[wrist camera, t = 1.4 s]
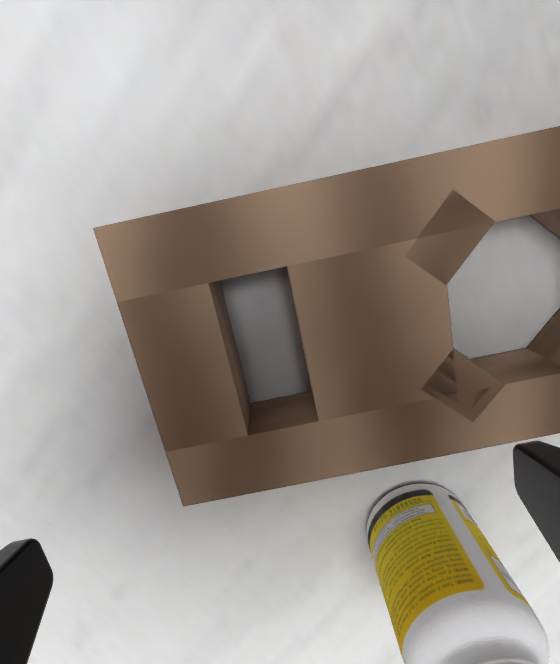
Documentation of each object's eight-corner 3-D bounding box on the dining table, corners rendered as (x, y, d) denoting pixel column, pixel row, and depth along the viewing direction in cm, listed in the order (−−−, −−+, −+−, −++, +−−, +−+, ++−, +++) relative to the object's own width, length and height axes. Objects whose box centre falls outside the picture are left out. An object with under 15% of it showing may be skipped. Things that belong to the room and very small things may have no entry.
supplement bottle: (349, 551, 23) (406, 789, 13) (386, 468, 21) (479, 668, 12) (440, 573, 23) (555, 817, 14) (481, 494, 22) (641, 705, 13)
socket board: (618, 117, 17) (689, 97, 14) (613, 383, 20) (670, 411, 18) (121, 225, 18) (93, 228, 15) (195, 466, 21) (183, 506, 18)
